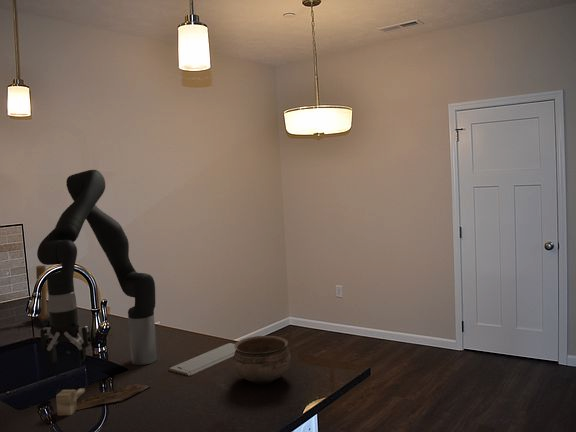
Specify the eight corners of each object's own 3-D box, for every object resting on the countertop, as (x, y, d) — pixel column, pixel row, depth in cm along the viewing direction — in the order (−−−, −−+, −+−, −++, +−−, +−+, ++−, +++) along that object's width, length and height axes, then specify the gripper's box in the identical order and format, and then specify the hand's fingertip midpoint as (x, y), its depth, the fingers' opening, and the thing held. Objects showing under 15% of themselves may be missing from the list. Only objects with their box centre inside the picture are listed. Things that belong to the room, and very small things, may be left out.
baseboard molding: (252, 351, 202) (229, 346, 209) (251, 344, 202) (228, 339, 209) (193, 378, 177) (169, 372, 184) (192, 370, 177) (168, 364, 184)
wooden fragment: (144, 382, 174) (143, 379, 174) (155, 393, 165) (155, 390, 165) (61, 405, 160) (61, 402, 160) (69, 418, 151) (69, 414, 151)
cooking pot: (309, 383, 167) (307, 346, 166) (260, 401, 155) (258, 361, 154) (264, 363, 187) (263, 329, 186) (218, 377, 175) (216, 342, 174)
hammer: (55, 330, 250) (53, 271, 244) (44, 332, 247) (42, 273, 241) (41, 316, 265) (39, 260, 258) (31, 318, 261) (29, 261, 255)
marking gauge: (76, 397, 164) (75, 379, 164) (89, 397, 164) (87, 379, 164) (57, 415, 152) (55, 395, 152) (70, 415, 152) (69, 395, 152)
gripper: (92, 303, 156) (96, 356, 158) (46, 305, 157) (51, 357, 159) (80, 310, 149) (85, 365, 150) (32, 312, 150) (38, 367, 151)
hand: (68, 361), depth 154 cm, fingers open, 8 cm apart
